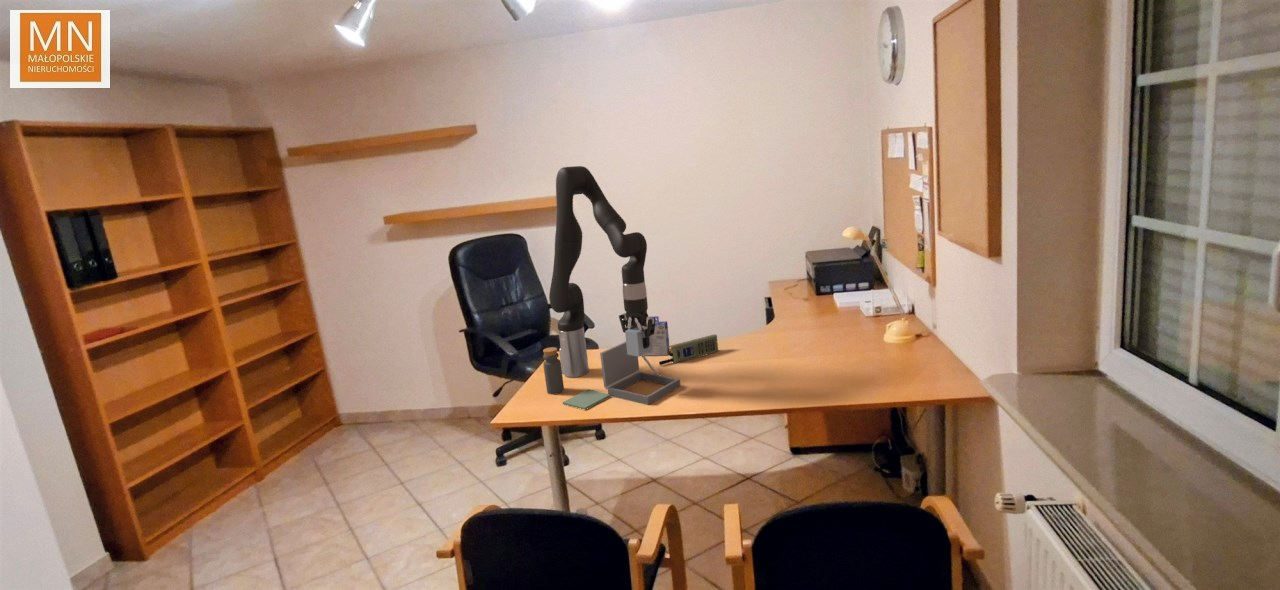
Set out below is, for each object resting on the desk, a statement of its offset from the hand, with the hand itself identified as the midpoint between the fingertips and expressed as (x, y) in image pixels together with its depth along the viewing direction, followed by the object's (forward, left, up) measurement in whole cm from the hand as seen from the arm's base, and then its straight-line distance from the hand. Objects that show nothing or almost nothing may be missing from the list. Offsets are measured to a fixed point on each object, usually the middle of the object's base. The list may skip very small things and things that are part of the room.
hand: (639, 346), depth 205 cm
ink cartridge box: (-20, +32, -16) cm, 41 cm away
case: (0, 0, -15) cm, 15 cm away
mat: (-12, -15, -15) cm, 25 cm away
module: (0, 0, -2) cm, 2 cm away
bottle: (-28, -14, -16) cm, 35 cm away
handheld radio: (-5, +33, -16) cm, 37 cm away
